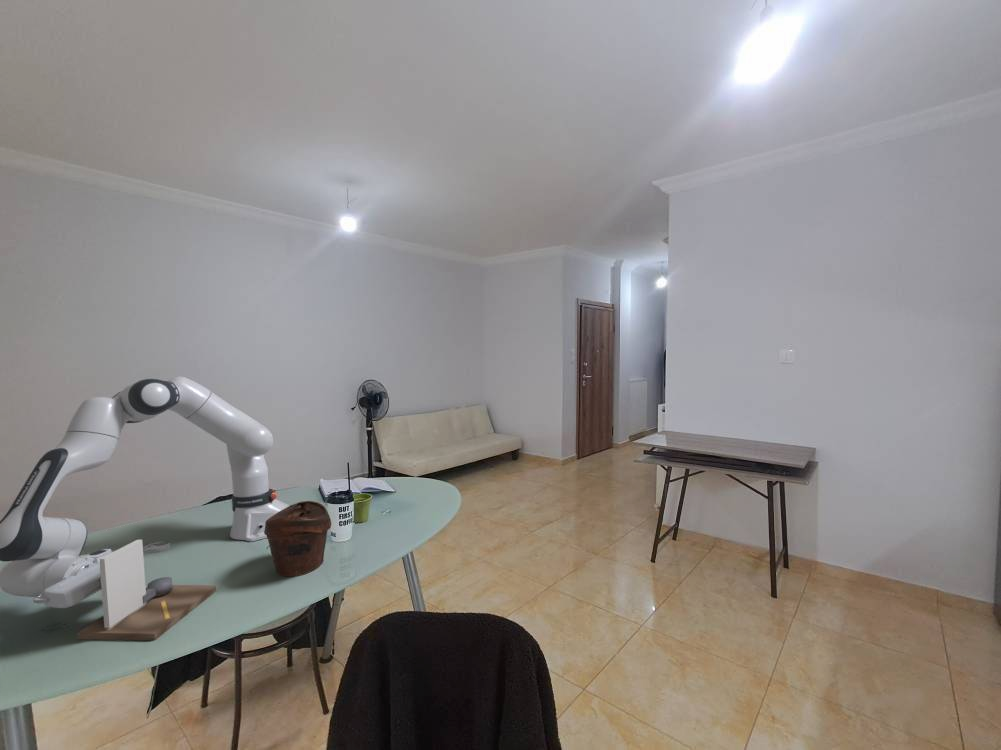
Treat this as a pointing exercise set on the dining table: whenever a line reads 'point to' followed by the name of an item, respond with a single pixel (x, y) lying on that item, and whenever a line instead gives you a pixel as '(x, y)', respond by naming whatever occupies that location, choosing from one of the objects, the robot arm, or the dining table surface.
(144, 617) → the dial board
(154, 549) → the adjustable wrench
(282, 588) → the dining table surface
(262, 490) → the robot arm
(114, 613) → the white upright panel
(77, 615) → the dining table surface
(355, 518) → the plant pot
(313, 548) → the case
